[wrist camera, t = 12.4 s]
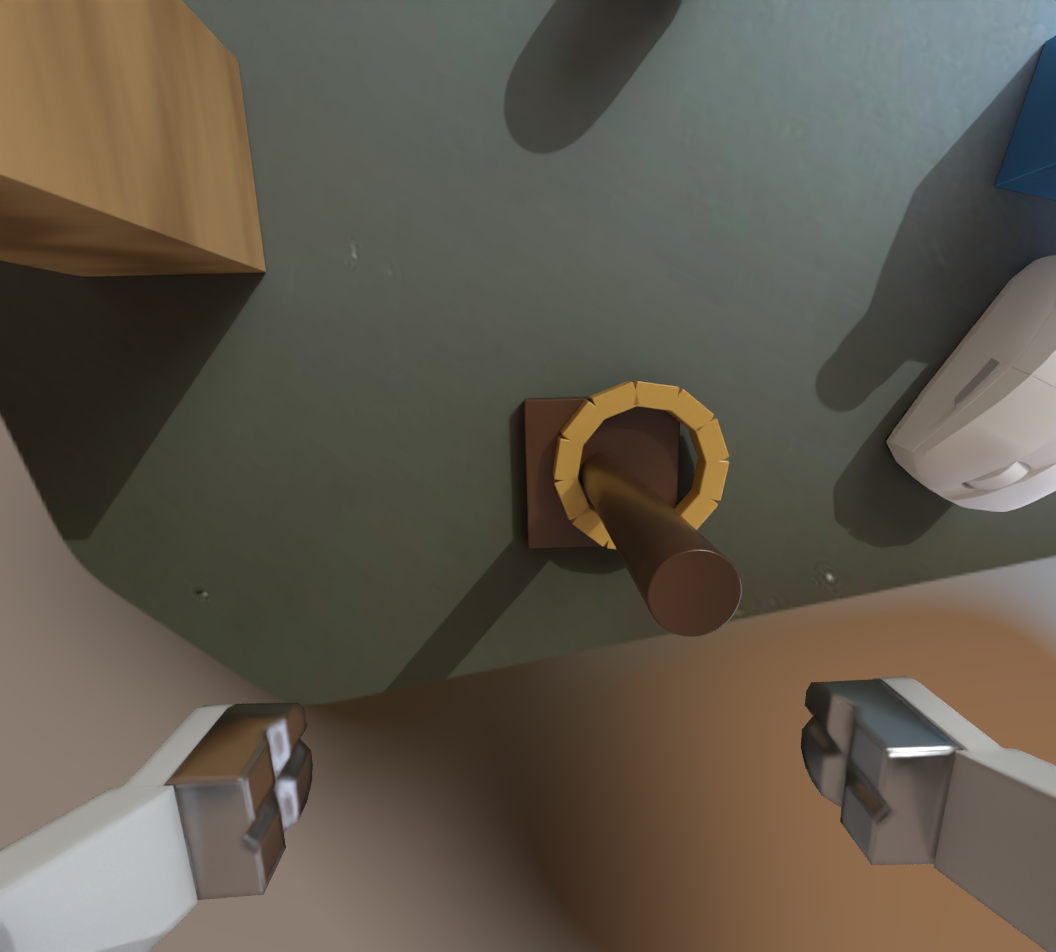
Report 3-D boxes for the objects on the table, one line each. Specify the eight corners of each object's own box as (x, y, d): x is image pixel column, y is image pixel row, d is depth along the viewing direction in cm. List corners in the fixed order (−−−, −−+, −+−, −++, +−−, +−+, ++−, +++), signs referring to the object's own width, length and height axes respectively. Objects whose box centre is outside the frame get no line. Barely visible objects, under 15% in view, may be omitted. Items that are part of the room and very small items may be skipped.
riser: (81, 276, 25) (-463, 168, 11) (37, 65, 23) (-693, -391, 9) (266, 272, 25) (-44, 159, 11) (238, 61, 23) (-180, -393, 9)
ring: (588, 566, 27) (591, 575, 26) (529, 421, 26) (529, 423, 24) (738, 508, 27) (748, 515, 26) (688, 355, 25) (697, 355, 24)
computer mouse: (867, 453, 27) (967, 479, 21) (1037, 237, 25) (1204, 197, 19) (953, 514, 28) (1073, 556, 22) (1125, 311, 26) (1311, 294, 20)
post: (528, 542, 28) (539, 737, 13) (523, 398, 26) (532, 441, 12) (670, 538, 28) (835, 726, 14) (675, 394, 26) (871, 431, 12)
